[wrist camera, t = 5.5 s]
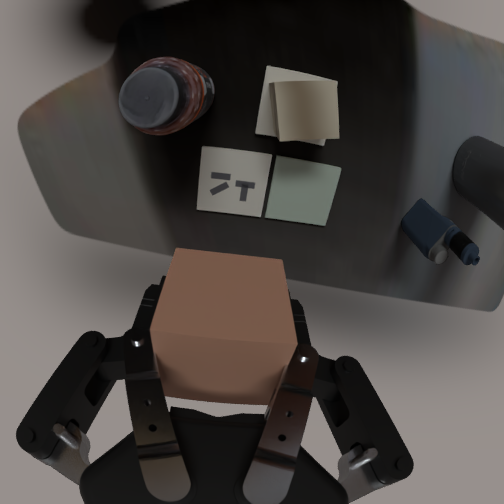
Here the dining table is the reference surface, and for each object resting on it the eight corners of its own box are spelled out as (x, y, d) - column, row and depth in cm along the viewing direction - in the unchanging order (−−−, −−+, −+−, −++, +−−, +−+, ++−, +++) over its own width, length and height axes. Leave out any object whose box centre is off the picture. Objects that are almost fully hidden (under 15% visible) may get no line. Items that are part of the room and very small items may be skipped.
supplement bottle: (222, 70, 22) (207, 58, 13) (207, 126, 25) (185, 151, 16) (162, 61, 21) (114, 50, 12) (150, 116, 24) (99, 139, 15)
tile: (336, 81, 23) (337, 81, 22) (322, 145, 27) (323, 145, 26) (266, 66, 22) (266, 65, 22) (255, 132, 26) (255, 133, 26)
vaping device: (431, 205, 30) (487, 257, 20) (406, 234, 33) (454, 293, 23) (422, 193, 30) (480, 245, 20) (396, 223, 32) (445, 284, 22)
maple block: (320, 81, 23) (336, 80, 18) (323, 129, 25) (339, 138, 21) (268, 83, 23) (274, 82, 19) (273, 131, 25) (280, 141, 21)
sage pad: (340, 167, 28) (341, 168, 28) (324, 224, 32) (325, 225, 31) (276, 155, 27) (277, 156, 27) (264, 215, 31) (265, 217, 31)
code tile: (271, 154, 27) (272, 155, 27) (260, 215, 31) (260, 217, 31) (202, 145, 26) (202, 146, 26) (197, 208, 30) (196, 209, 30)
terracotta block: (282, 259, 13) (297, 343, 9) (263, 328, 16) (268, 405, 12) (176, 247, 13) (149, 329, 9) (177, 320, 16) (163, 395, 11)
